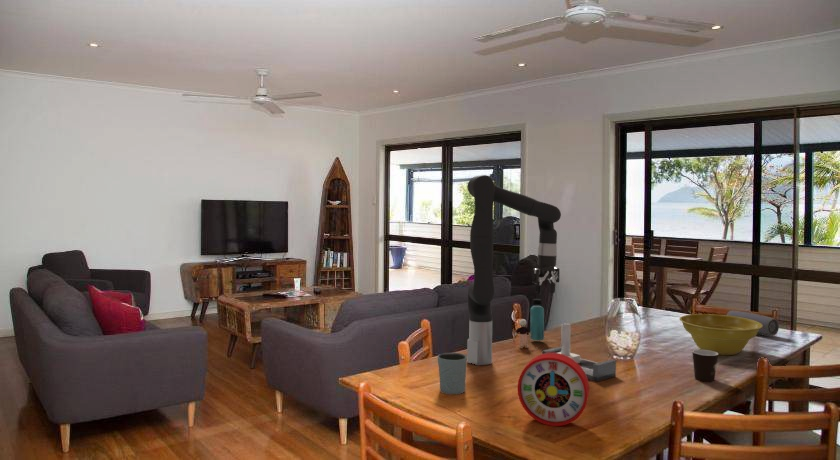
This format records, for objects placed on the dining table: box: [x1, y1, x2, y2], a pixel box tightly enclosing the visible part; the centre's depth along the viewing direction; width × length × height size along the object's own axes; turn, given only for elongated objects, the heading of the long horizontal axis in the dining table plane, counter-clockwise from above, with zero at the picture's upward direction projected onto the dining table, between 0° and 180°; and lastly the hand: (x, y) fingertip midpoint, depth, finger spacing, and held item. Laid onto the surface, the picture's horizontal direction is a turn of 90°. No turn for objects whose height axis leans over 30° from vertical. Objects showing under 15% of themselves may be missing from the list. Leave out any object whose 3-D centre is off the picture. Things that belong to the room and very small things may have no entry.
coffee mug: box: [691, 349, 719, 383], centre depth 215 cm, size 12×9×10 cm
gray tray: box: [541, 346, 617, 382], centre depth 225 cm, size 11×26×6 cm, turn 37°
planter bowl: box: [679, 313, 763, 356], centre depth 255 cm, size 32×32×13 cm
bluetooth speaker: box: [726, 310, 780, 336], centre depth 291 cm, size 23×9×10 cm, turn 25°
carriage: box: [558, 323, 581, 363], centre depth 230 cm, size 8×8×15 cm
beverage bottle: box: [529, 298, 545, 341], centre depth 272 cm, size 6×7×20 cm
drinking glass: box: [437, 352, 468, 395], centre depth 201 cm, size 10×10×12 cm
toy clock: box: [517, 353, 590, 427], centre depth 172 cm, size 20×6×20 cm, turn 69°
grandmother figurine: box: [514, 318, 531, 349], centre depth 261 cm, size 8×4×13 cm, turn 108°
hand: (545, 293), depth 241 cm, fingers open, 8 cm apart
